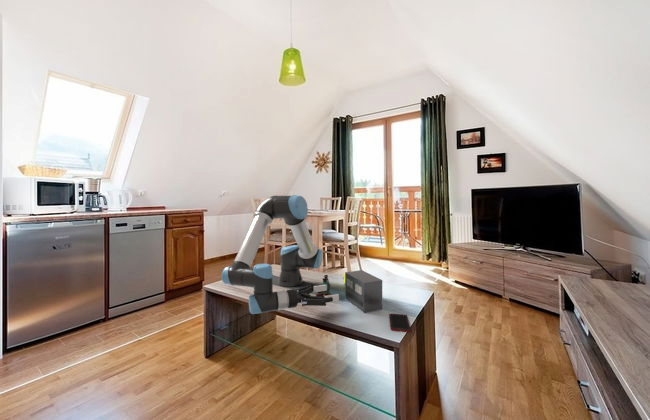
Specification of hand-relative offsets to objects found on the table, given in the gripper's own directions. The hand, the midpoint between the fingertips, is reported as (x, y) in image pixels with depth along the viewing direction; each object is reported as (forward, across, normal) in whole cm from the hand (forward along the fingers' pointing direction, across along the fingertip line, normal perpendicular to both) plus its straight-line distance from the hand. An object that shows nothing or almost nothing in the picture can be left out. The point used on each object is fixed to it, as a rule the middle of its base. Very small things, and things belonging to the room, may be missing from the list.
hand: (332, 292), depth 119 cm
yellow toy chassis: (+25, -29, -10) cm, 39 cm away
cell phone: (+22, +19, -11) cm, 31 cm away
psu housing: (+19, -4, -10) cm, 22 cm away
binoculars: (+4, -23, -10) cm, 25 cm away
